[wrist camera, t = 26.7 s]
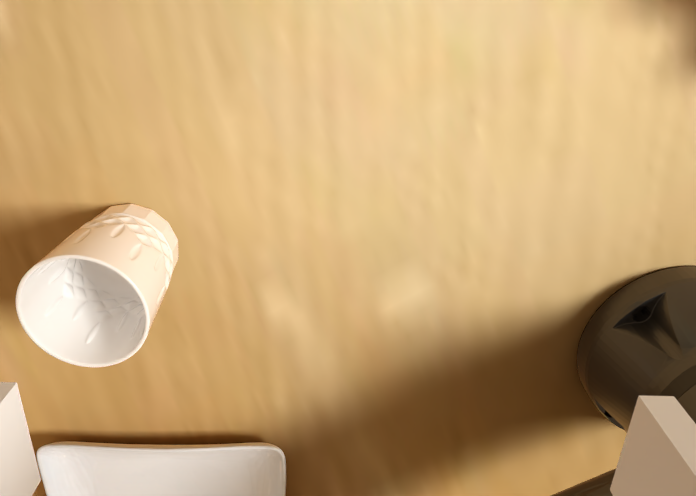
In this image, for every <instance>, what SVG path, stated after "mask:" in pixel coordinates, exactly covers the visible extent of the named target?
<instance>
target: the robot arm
mask: <svg viewBox="0 0 696 496" xmlns="http://www.w3.org/2000/svg"><path fill="white" fill-rule="evenodd" d="M577 369H578V374H579V378H580V380H581V383H582V385H583V387H584V388H585V390H586V392H587V394H588V395H589V397H590V399H591V400H592V402H593V403H594V405H595V406H596V408H597V409H598V410H599V411H600V412H601V413H602V414H603V416H605V417H606V418H607V419H608V420H609V421H611V422H612V423H613V424H615V425H616V426H618V427H620V428H621V429H623V430H625V431H626V432H627V435H626V438H625V442H624V445H623V448H622V451H621V455H620V458H619V461H618V464H617V468H616V469H613V470H611V471H609V472H606V473H604V474H601V475H599V476H597V477H594V478H592V479H589V480H587V481H585V482H582V483H580V484H577V485H575V486H573V487H570V488H568V489H565V490H563V491H561V492H558V493H556V494H553V495H551V496H696V266H685V267H675V268H669V269H665V270H661V271H657V272H654V273H651V274H649V275H646V276H644V277H641V278H639V279H637V280H635V281H633V282H631V283H630V284H628V285H626V286H625V287H623V288H622V289H620V290H619V291H617V292H616V293H615V294H613V295H612V296H611V297H610V298H609V299H608V300H607V301H605V302H604V303H603V304H602V305H601V307H600V308H599V309H598V310H597V311H596V312H595V314H594V315H593V316H592V318H591V319H590V321H589V322H588V324H587V326H586V328H585V330H584V332H583V334H582V337H581V339H580V343H579V346H578V352H577ZM40 481H41V478H40V474H39V470H38V466H37V462H36V458H35V454H34V450H33V446H32V442H31V438H30V434H29V430H28V426H27V422H26V418H25V414H24V410H23V406H22V402H21V398H20V394H19V390H18V386H17V382H0V496H32V495H33V493H34V492H35V490H36V488H37V486H38V485H39V483H40Z"/></svg>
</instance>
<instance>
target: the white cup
mask: <svg viewBox="0 0 696 496" xmlns="http://www.w3.org/2000/svg"><path fill="white" fill-rule="evenodd" d="M177 261H178V239H177V237H176V235H175V233H174V232H173V230H172V228H171V226H170V224H169V223H168V222H167V221H166V220H165V219H163V218H162V217H161V216H160V215H158V214H157V213H156V212H155V211H153V210H152V209H148V208H145V207H142V206H138V205H135V204H124V205H116V206H111V207H109V208H108V209H106V210H105V211H103V212H102V213H100V214H99V215H97V216H96V217H94V218H93V219H92V220H91V221H89V222H87V223H85V224H84V225H83V226H81V227H80V228H79V229H77V230H76V231H75V232H74V233H72V234H71V235H70V236H68V237H67V238H66V239H65V240H64V241H63V242H61V243H60V244H59V245H58V246H57V247H55V248H54V249H53V250H52V251H51V252H50V253H48V254H47V255H46V256H45V257H44V258H42V259H41V260H40V261H39V262H38V263H36V264H35V265H34V266H33V267H32V268H30V269H29V270H28V271H27V272H26V274H25V275H24V276H23V278H22V279H21V281H20V283H19V285H18V288H17V292H16V300H15V302H16V311H17V315H18V318H19V321H20V323H21V325H22V327H23V329H24V330H25V332H26V333H27V335H28V336H29V337H30V338H31V339H32V341H33V342H34V343H35V344H36V345H38V346H39V347H40V348H41V349H42V350H44V351H45V352H47V353H48V354H50V355H51V356H53V357H55V358H57V359H59V360H61V361H64V362H67V363H70V364H73V365H77V366H83V367H105V366H111V365H114V364H117V363H120V362H122V361H124V360H126V359H128V358H130V357H131V356H132V355H134V354H135V353H136V352H137V351H138V350H139V349H140V347H141V346H142V345H143V343H144V341H145V340H146V337H147V335H148V333H149V330H150V328H151V326H152V323H153V321H154V319H155V316H156V314H157V312H158V310H159V307H160V305H161V303H162V300H163V298H164V296H165V293H166V290H167V288H168V285H169V283H170V279H171V275H172V272H173V269H174V267H175V265H176V263H177Z"/></svg>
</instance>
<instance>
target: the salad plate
mask: <svg viewBox="0 0 696 496" xmlns="http://www.w3.org/2000/svg"><path fill="white" fill-rule="evenodd" d="M36 457H37V462H38V467H39V470H40V474H41V478H42V481H43V485H44V488H45V492H46V495H47V496H286V460H285V455H284V452H283V451H282V450H281V449H280V448H279V447H277V446H275V445H273V444H270V443H263V442H257V443H232V444H206V445H148V444H114V443H93V442H75V441H64V442H55V443H50V444H47V445H44V446H41V447H40V448H39V449H38V450H37V453H36Z"/></svg>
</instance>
